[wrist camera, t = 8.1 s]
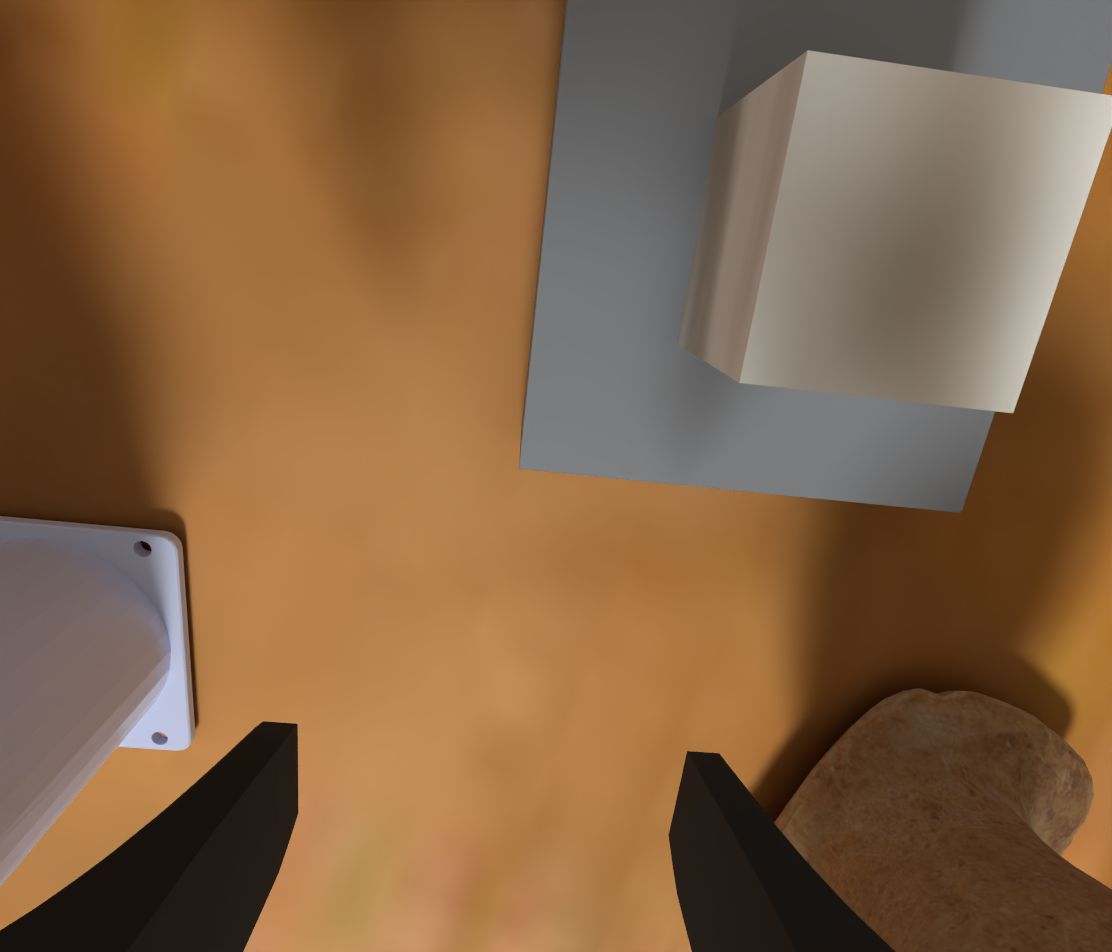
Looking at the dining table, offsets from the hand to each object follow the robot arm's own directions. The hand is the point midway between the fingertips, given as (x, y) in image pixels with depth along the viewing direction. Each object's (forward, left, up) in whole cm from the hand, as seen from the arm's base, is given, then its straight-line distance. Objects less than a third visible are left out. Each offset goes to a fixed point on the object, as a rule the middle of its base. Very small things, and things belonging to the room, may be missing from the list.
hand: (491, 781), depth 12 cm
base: (+6, +10, -9) cm, 15 cm away
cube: (+6, +10, -6) cm, 13 cm away
